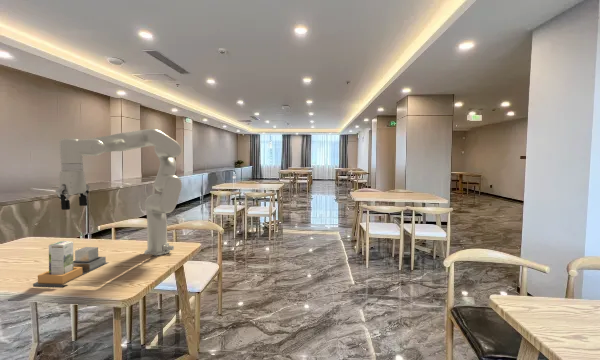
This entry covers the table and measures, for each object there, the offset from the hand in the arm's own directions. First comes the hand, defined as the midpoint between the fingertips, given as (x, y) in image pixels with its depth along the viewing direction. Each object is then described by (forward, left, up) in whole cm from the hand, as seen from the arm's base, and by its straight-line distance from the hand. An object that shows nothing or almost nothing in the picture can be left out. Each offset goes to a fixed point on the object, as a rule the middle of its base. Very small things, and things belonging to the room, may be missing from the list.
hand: (74, 207), depth 129 cm
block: (-1, -5, -28) cm, 28 cm away
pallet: (-1, +2, -29) cm, 29 cm away
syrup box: (-1, +9, -28) cm, 29 cm away
